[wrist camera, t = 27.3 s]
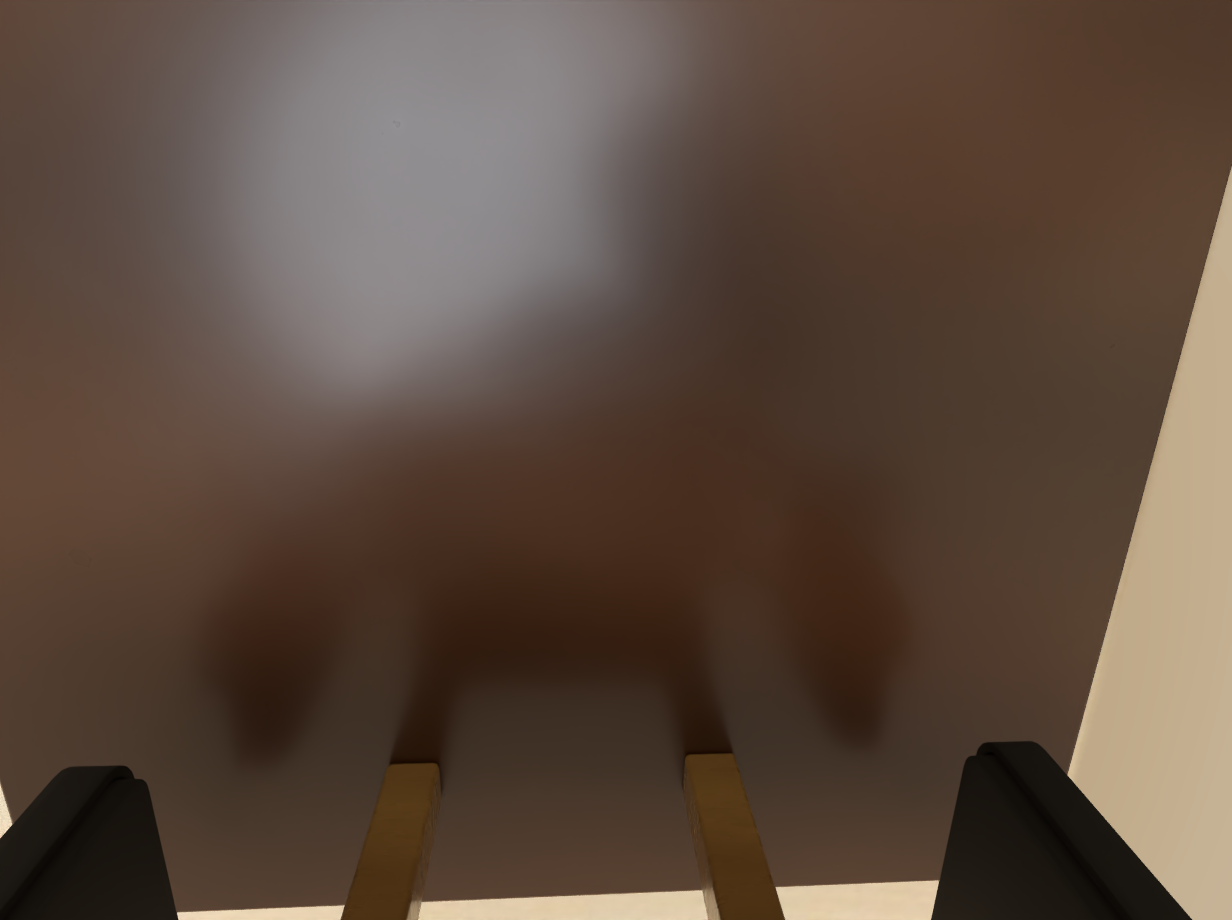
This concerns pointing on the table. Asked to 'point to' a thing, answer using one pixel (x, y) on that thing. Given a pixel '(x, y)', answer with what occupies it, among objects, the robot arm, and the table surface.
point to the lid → (578, 422)
